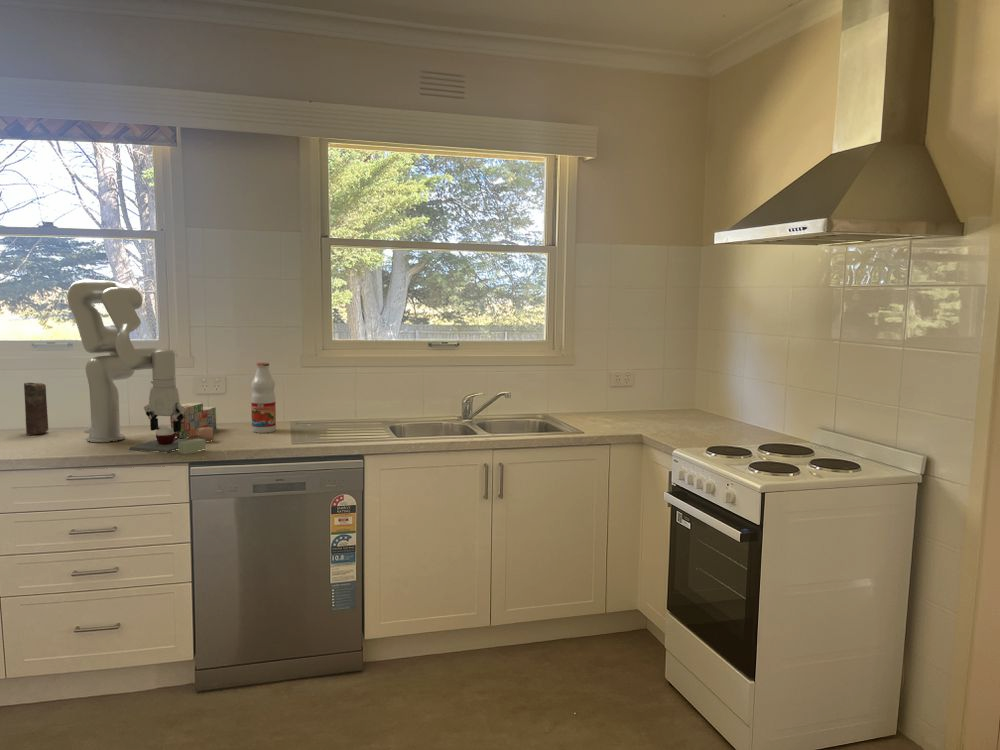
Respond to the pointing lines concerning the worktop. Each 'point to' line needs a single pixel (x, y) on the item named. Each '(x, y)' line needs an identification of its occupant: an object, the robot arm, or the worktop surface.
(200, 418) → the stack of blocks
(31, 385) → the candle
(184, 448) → the green brick
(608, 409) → the worktop surface
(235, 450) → the worktop surface
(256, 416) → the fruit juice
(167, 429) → the cocoa
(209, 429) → the terracotta cylinder
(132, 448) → the mat
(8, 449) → the worktop surface
